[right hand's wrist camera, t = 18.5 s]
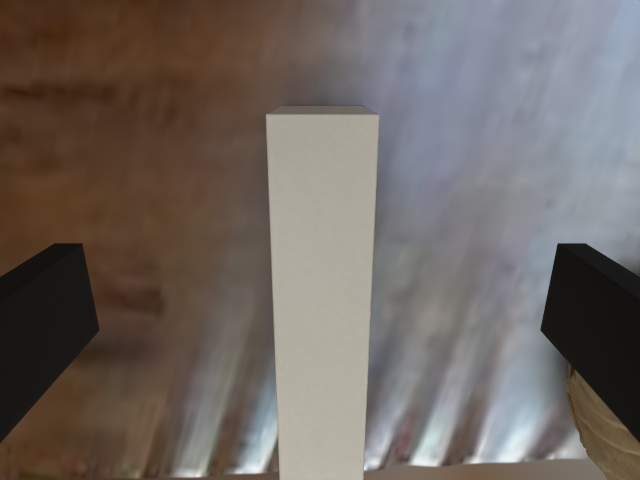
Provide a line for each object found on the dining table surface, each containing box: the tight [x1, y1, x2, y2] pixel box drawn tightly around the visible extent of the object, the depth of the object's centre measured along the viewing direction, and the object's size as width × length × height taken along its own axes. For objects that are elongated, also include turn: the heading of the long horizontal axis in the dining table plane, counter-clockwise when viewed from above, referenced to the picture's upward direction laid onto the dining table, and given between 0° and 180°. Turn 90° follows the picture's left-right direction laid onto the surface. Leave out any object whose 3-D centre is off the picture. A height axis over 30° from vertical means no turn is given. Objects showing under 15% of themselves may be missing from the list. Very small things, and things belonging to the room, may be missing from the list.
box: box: [266, 106, 380, 480], centre depth 31 cm, size 28×6×9 cm, turn 0°
